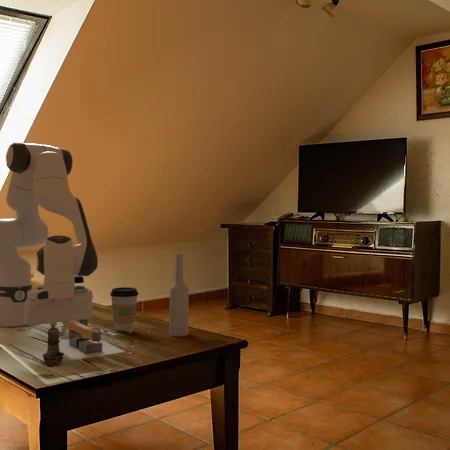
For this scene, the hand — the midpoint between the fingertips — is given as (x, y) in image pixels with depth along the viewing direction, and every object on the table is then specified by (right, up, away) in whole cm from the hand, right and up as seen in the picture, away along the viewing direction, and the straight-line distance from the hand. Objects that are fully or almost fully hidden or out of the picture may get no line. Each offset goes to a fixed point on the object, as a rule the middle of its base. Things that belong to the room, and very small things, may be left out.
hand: (59, 336), depth 173 cm
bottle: (+34, -5, +27) cm, 44 cm away
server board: (+6, -5, +6) cm, 10 cm away
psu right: (+9, -4, +2) cm, 10 cm away
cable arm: (+6, 0, +5) cm, 8 cm away
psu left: (+4, -4, +8) cm, 10 cm away
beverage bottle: (-1, -4, +26) cm, 27 cm away
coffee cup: (+14, -4, +31) cm, 34 cm away
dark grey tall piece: (+2, -6, -13) cm, 14 cm away
